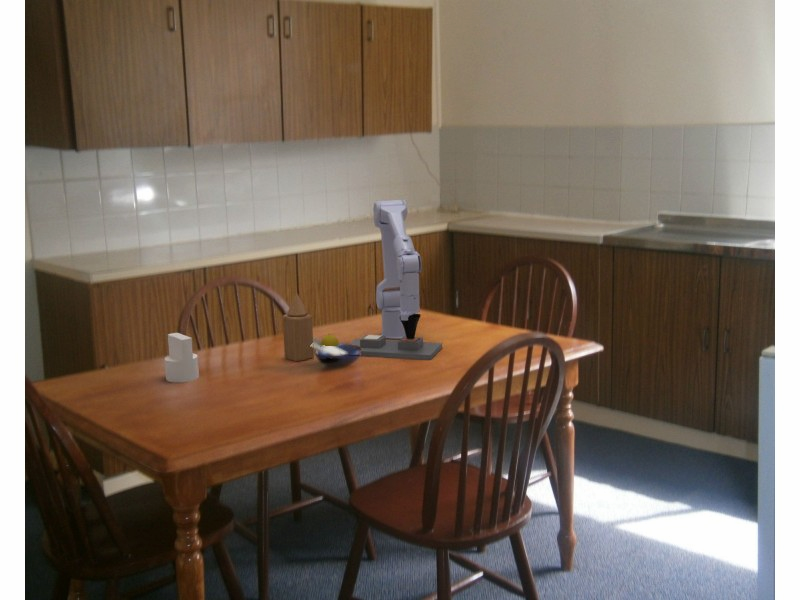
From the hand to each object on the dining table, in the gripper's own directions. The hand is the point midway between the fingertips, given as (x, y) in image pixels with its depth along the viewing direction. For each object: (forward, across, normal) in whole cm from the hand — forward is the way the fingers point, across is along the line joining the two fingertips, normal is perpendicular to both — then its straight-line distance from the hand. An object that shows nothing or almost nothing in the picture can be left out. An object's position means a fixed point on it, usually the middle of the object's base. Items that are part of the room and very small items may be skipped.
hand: (410, 338), depth 274 cm
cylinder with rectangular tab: (+4, +37, -56) cm, 68 cm away
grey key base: (+4, 0, -6) cm, 7 cm away
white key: (+2, 0, -12) cm, 12 cm away
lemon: (+4, +12, -21) cm, 25 cm away
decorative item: (+4, +12, -31) cm, 34 cm away
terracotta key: (+2, 0, 0) cm, 2 cm away
